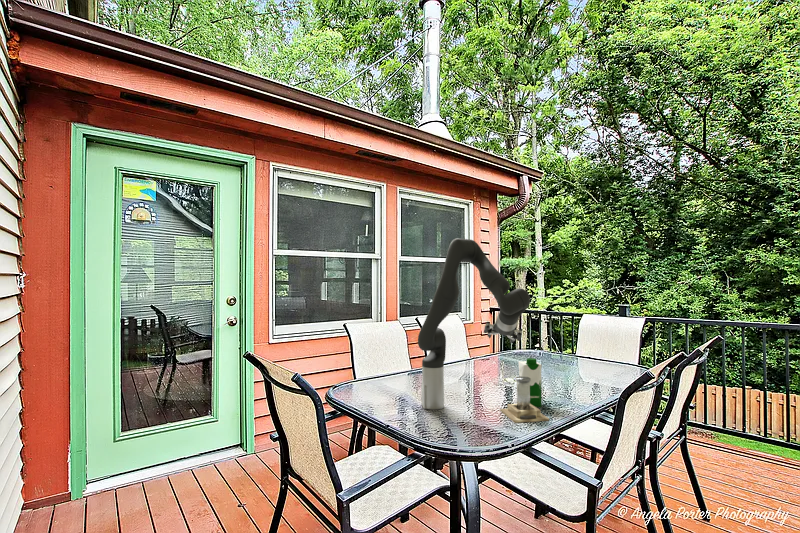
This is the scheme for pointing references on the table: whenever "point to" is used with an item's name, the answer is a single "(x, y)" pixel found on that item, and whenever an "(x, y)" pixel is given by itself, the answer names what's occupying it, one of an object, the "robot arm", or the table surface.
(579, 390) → the table surface
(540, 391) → the milk carton
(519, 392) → the metal canister
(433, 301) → the robot arm
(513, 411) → the socket mount
